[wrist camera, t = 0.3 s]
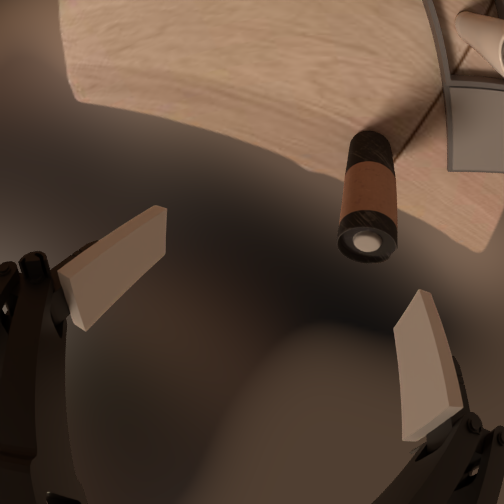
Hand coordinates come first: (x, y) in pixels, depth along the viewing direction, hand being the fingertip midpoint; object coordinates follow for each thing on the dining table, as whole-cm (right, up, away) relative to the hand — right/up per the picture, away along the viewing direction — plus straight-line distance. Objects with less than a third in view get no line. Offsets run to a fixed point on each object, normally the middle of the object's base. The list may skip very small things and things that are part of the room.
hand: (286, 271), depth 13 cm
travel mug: (+18, +18, +27) cm, 37 cm away
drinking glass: (+26, +29, +2) cm, 39 cm away
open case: (+30, +24, +8) cm, 39 cm away
